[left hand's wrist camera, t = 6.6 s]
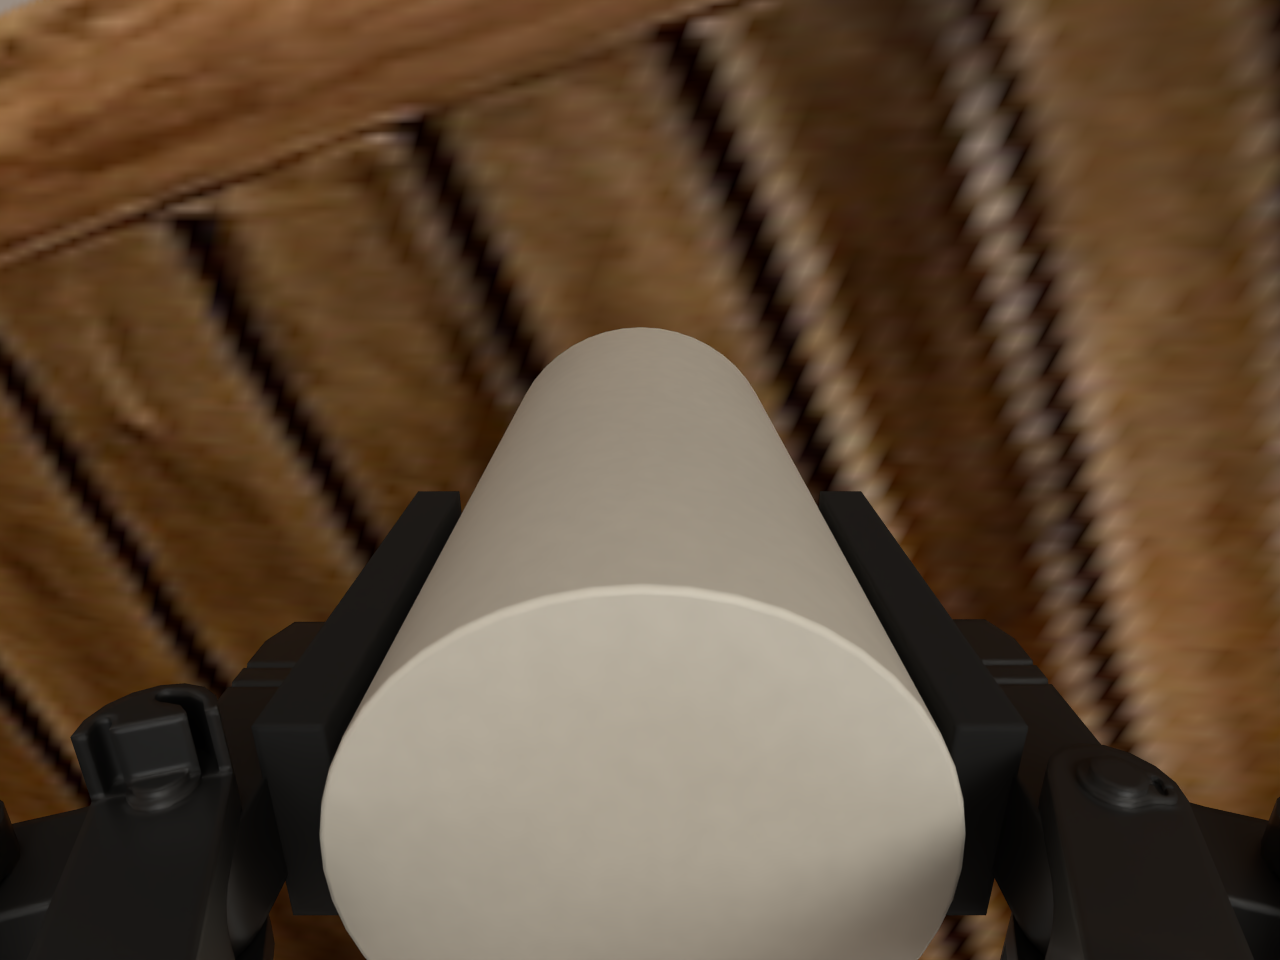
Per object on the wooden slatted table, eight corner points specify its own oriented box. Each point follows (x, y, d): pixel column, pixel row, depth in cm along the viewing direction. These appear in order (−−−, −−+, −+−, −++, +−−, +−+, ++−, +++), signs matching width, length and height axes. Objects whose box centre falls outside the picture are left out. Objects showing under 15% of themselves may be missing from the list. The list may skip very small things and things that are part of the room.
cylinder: (504, 327, 19) (260, 588, 7) (777, 326, 19) (1022, 585, 7) (519, 570, 21) (362, 1081, 9) (762, 570, 21) (922, 1081, 9)
